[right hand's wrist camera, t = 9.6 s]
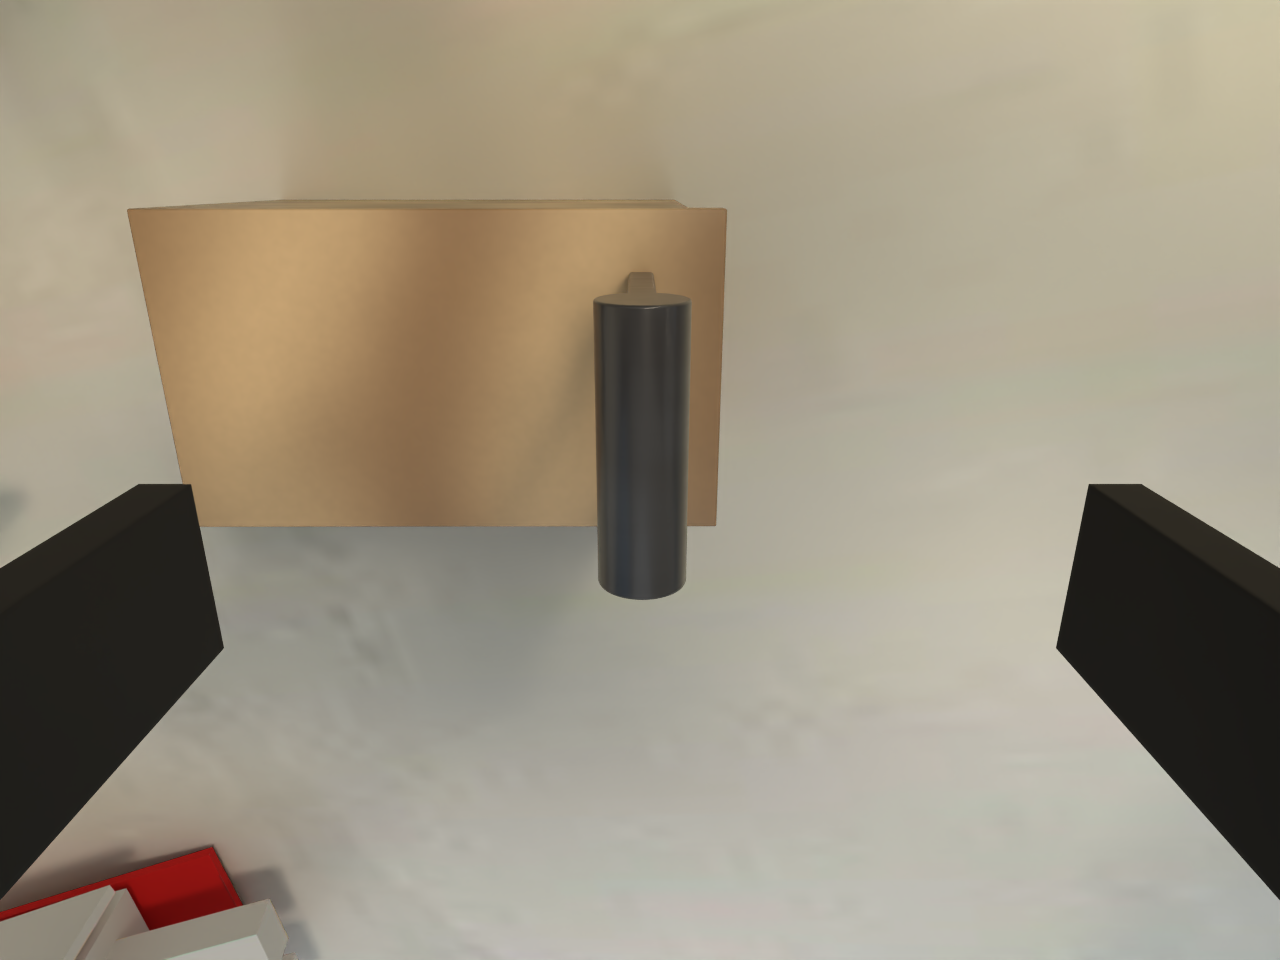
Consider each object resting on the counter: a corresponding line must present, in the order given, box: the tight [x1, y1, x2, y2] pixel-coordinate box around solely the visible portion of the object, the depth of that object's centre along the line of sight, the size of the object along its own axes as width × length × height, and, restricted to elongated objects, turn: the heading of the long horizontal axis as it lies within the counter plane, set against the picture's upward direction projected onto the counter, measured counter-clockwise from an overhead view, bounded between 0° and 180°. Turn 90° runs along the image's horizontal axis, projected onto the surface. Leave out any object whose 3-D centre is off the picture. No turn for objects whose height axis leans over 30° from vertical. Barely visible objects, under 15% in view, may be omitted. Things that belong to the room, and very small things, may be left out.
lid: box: [127, 208, 727, 600], centre depth 21 cm, size 16×10×8 cm, turn 90°
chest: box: [152, 200, 687, 208], centre depth 29 cm, size 16×10×9 cm, turn 90°
